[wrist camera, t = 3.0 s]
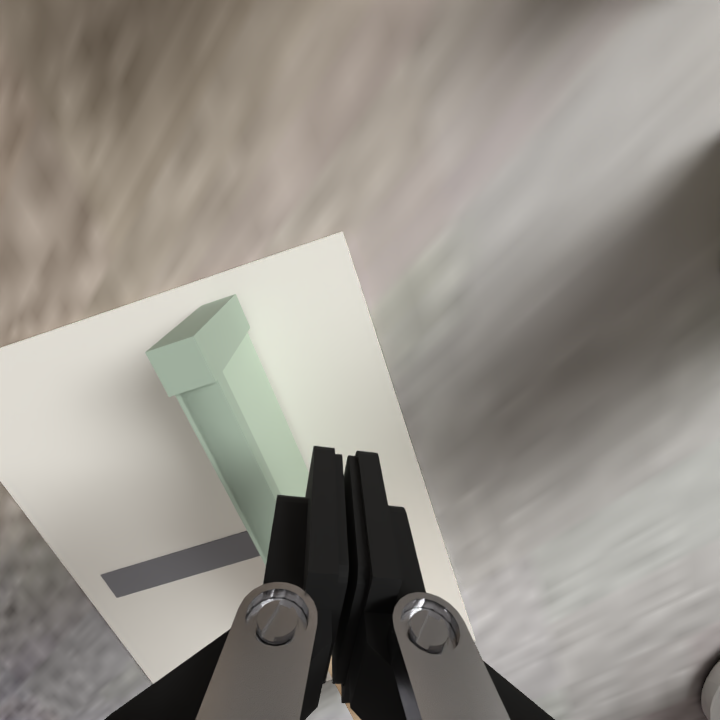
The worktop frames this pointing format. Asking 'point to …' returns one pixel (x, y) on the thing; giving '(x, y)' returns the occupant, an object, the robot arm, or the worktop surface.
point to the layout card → (195, 446)
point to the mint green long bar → (232, 411)
